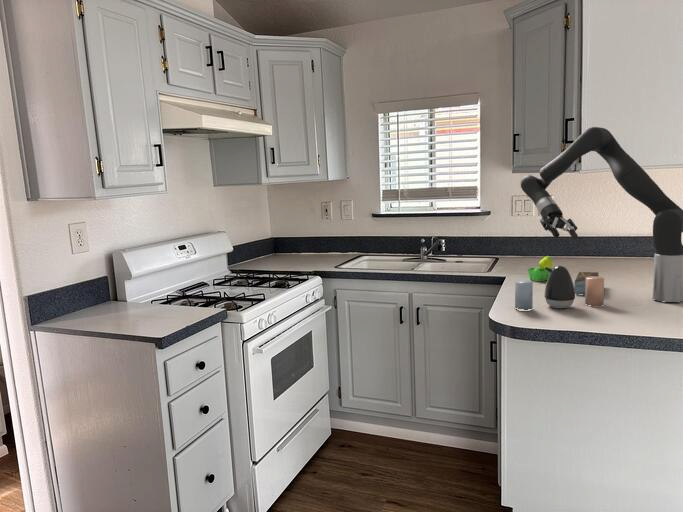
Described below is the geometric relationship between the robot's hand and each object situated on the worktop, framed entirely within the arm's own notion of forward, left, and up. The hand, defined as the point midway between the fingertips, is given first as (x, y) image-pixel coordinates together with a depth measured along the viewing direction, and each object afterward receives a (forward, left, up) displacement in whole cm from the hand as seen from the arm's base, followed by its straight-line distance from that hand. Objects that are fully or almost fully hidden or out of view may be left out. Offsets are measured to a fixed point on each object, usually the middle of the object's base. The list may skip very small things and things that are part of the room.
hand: (566, 237), depth 204 cm
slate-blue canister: (+2, +31, -23) cm, 38 cm away
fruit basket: (+19, -20, -23) cm, 36 cm away
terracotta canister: (-15, +11, -23) cm, 29 cm away
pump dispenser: (-7, +21, -23) cm, 32 cm away
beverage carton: (-4, -10, -23) cm, 26 cm away
